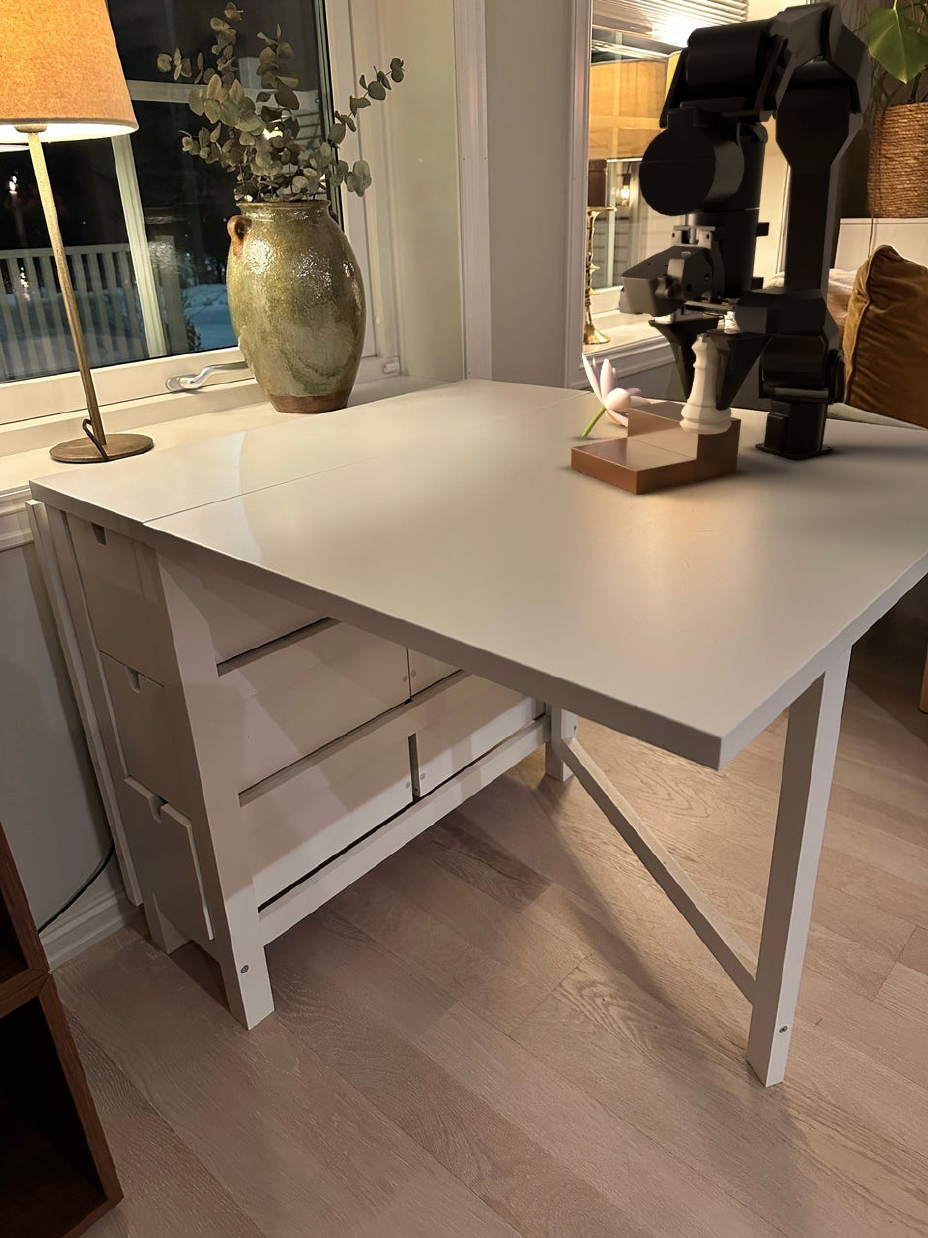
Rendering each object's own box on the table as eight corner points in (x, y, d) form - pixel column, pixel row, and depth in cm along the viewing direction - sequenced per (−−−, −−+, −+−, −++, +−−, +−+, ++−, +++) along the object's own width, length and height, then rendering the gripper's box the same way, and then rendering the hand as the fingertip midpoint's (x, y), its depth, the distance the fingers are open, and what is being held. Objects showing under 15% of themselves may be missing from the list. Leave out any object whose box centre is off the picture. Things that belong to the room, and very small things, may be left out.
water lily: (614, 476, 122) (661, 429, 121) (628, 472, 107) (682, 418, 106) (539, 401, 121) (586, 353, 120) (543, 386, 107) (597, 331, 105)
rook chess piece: (722, 437, 76) (730, 340, 72) (671, 432, 78) (677, 337, 74) (737, 425, 79) (746, 332, 75) (688, 420, 81) (695, 329, 78)
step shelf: (665, 450, 108) (668, 400, 106) (736, 472, 99) (741, 419, 96) (570, 468, 102) (571, 416, 100) (635, 494, 93) (638, 437, 90)
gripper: (571, 214, 75) (569, 400, 82) (730, 216, 60) (711, 443, 67) (674, 208, 79) (664, 384, 86) (845, 207, 64) (816, 421, 71)
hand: (706, 405), depth 77 cm, fingers closed on rook chess piece, 3 cm apart
